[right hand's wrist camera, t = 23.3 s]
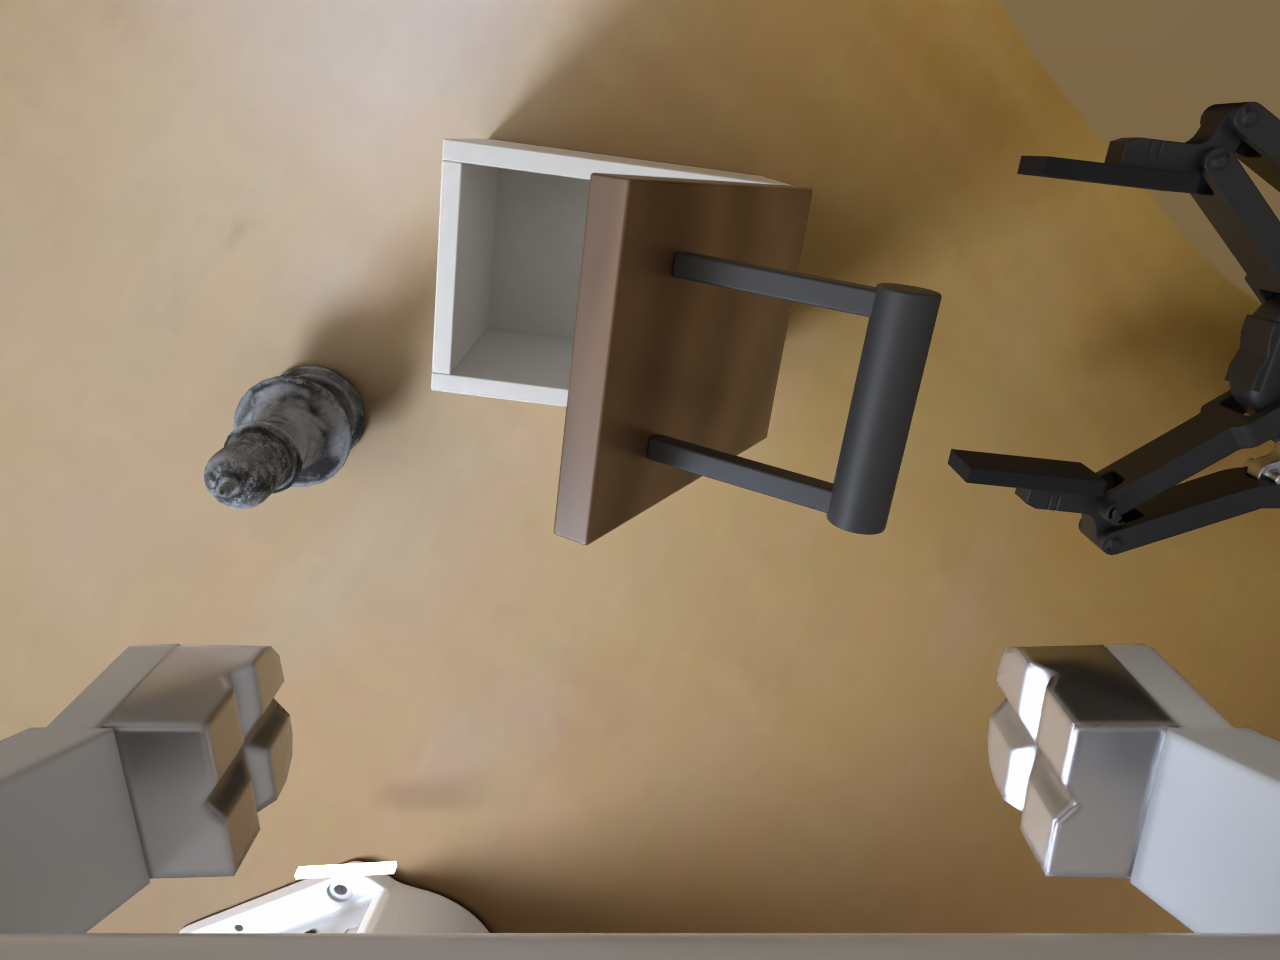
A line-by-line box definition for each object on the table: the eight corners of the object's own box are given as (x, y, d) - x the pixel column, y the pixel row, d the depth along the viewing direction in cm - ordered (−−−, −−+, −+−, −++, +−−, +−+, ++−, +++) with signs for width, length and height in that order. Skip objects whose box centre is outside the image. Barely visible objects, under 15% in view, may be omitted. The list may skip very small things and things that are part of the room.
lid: (552, 534, 26) (835, 635, 23) (589, 172, 23) (930, 225, 19) (741, 431, 38) (944, 486, 35) (784, 184, 35) (1014, 218, 31)
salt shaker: (276, 343, 48) (164, 406, 37) (383, 384, 49) (306, 457, 37) (249, 441, 50) (136, 529, 39) (353, 479, 51) (271, 576, 39)
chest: (474, 338, 48) (430, 390, 38) (487, 138, 45) (442, 138, 35) (729, 370, 49) (752, 430, 39) (762, 175, 45) (796, 186, 35)
